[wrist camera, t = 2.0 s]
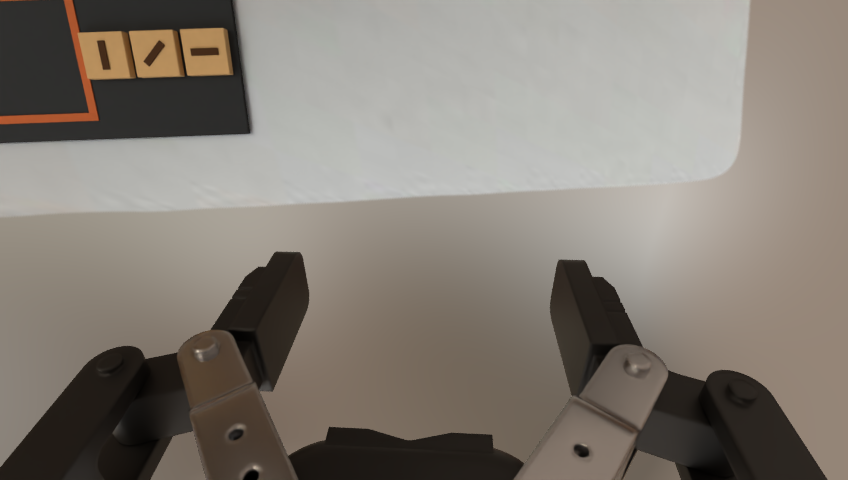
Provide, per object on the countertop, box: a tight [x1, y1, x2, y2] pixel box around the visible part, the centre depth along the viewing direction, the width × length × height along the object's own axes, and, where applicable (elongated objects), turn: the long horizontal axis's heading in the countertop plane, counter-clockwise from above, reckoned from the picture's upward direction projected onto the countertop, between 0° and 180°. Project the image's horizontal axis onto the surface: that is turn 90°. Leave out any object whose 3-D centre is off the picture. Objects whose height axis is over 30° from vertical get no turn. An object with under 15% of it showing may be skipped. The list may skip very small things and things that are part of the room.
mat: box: [0, 0, 250, 143], centre depth 34 cm, size 24×12×1 cm, turn 92°
